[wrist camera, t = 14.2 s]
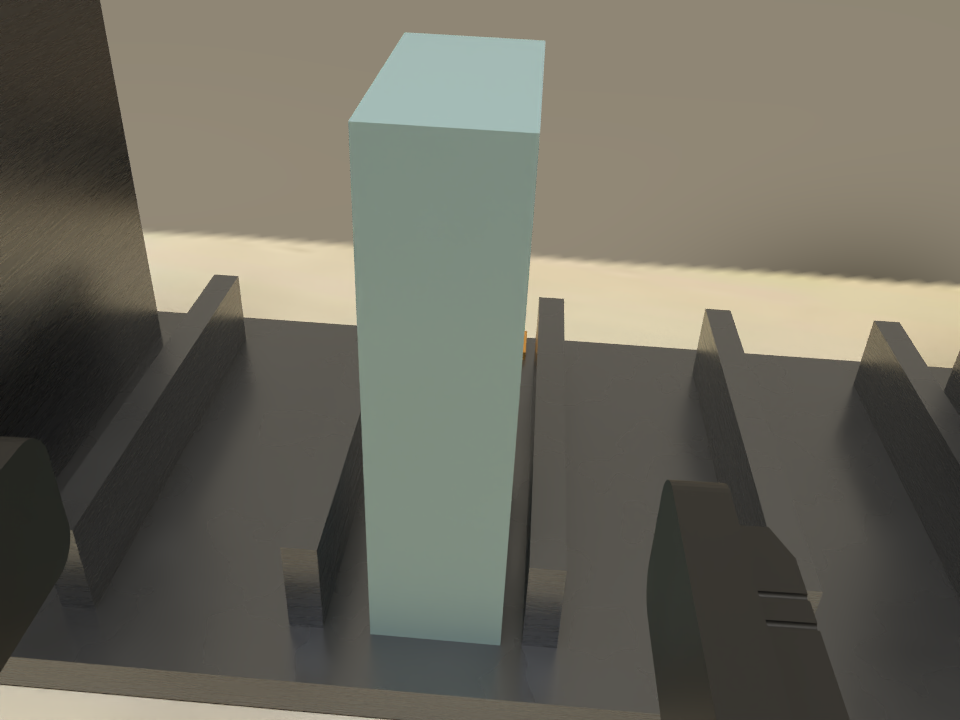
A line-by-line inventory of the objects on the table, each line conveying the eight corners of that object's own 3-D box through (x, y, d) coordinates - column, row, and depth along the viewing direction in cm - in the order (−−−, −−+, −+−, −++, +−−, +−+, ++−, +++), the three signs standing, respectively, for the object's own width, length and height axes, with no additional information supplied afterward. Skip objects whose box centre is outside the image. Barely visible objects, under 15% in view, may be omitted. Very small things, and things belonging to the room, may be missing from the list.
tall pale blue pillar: (370, 633, 20) (348, 121, 14) (407, 466, 25) (404, 32, 19) (500, 645, 20) (539, 133, 14) (512, 475, 25) (545, 40, 19)
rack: (-123, 672, 20) (-490, -41, 12) (140, 330, 33) (48, -130, 25) (1234, 794, 19) (1853, 92, 11) (962, 390, 32) (1152, -73, 24)
